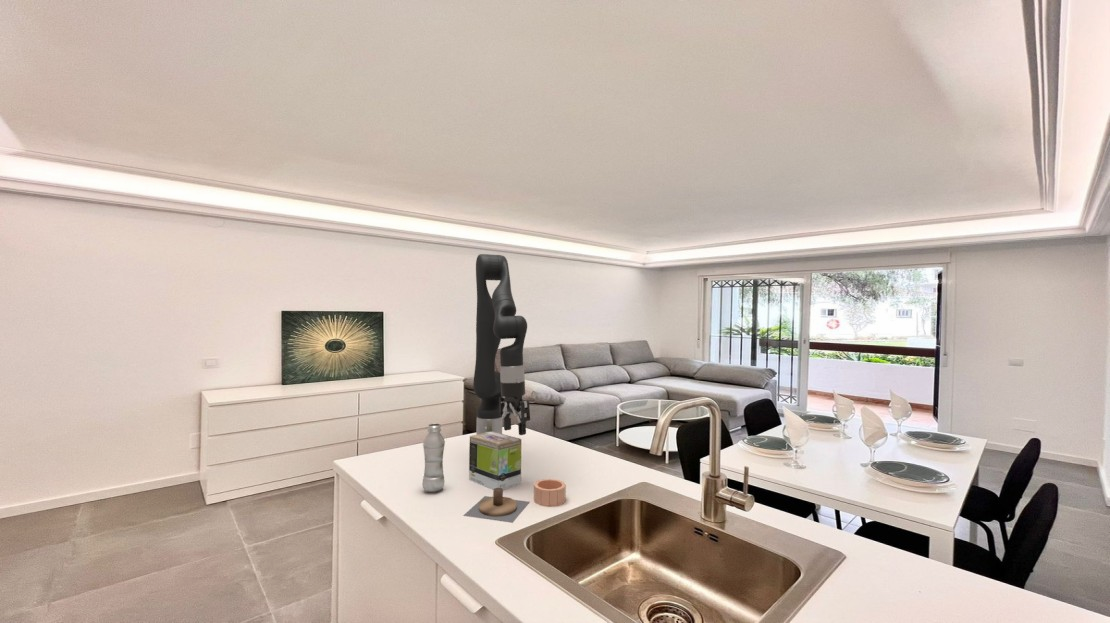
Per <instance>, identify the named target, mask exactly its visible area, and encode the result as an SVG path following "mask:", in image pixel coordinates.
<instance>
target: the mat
mask: <svg viewBox="0 0 1110 623" xmlns="http://www.w3.org/2000/svg"><path fill="white" fill-rule="evenodd" d="M490 497H491V496H487V495H484V496H483V497H482V498H480V500H479V501H478V502H477V503H476V504H474V505H473V506H472V507H471V508H470V509H468V511H466V512H465V513H464V514H463V515H462V516H464V517H470V518H477V519H485V520H490V521H491V520H492V521H497V522H505V523H512V524H513V523H514V522H515V521H516V519H517V518H519V516H520V514H522V512H523V511H524V510H525V509H526V507H528V505H529V504H530V503H531V502H530V501H529V500H521V499H519V500H518V499H514V500H515V501H516V502H517V509H516V511H515V512H513V513H512V514H509V515H506V516H487V515H484V514H482V513H481V512H480V511H479V503H480V502H481V501H482V500H484V499H487V498H490Z"/></svg>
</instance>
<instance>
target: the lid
mask: <svg viewBox="0 0 1110 623" xmlns="http://www.w3.org/2000/svg"><path fill="white" fill-rule="evenodd" d="M489 497H490V498H487V499H484V500H482V501H481V502H480V503H479V511H480V512H481V513H482V514H484V515H487V516H506V515H509V514H512V513H513V512H515V511H516V509H517V502H516V501H515V500H516V499H514V498H511V497H507V496H504V490H503V489H502V488H495V489H493V495H492V496H489Z"/></svg>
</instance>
